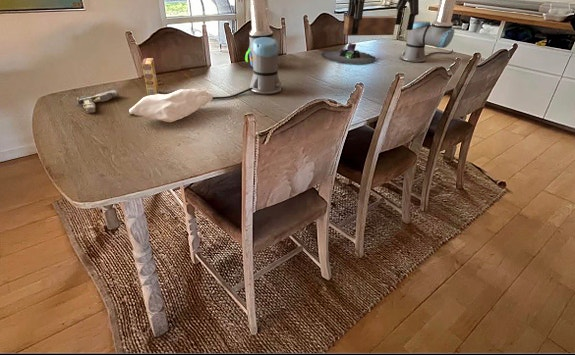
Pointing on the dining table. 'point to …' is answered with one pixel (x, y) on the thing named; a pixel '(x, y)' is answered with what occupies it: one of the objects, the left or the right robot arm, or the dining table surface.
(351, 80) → the dining table surface
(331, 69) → the dining table surface
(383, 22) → the bar
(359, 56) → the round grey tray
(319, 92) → the dining table surface
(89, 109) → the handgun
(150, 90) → the candy box
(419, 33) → the right robot arm
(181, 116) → the crumpled cloth
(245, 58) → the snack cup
